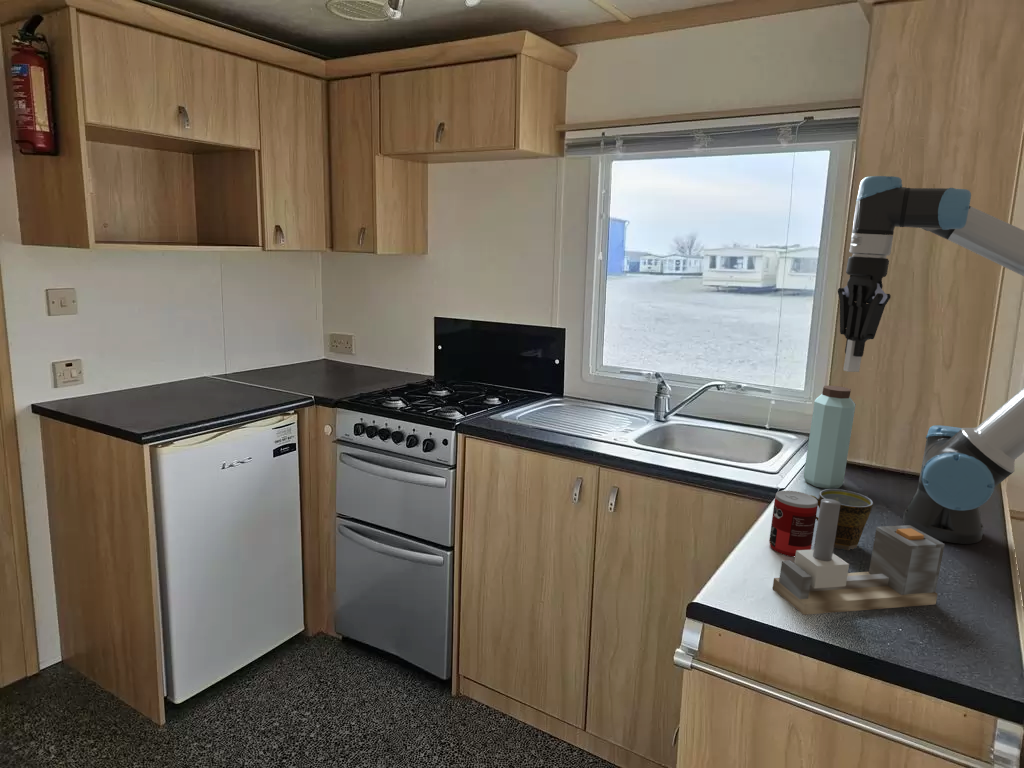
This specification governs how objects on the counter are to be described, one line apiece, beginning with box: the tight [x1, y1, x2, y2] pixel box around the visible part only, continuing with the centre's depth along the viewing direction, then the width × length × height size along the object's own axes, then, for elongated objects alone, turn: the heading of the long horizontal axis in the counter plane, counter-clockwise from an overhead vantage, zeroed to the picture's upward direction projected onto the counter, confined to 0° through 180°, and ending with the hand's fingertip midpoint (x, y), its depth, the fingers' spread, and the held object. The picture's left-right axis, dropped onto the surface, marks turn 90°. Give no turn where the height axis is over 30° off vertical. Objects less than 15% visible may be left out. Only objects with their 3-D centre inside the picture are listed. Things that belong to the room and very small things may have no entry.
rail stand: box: [772, 524, 946, 616], centre depth 125 cm, size 26×9×11 cm, turn 103°
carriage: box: [793, 499, 850, 588], centre depth 122 cm, size 6×6×14 cm
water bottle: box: [803, 385, 856, 490], centre depth 182 cm, size 10×10×25 cm
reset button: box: [896, 528, 924, 540], centre depth 126 cm, size 3×3×3 cm
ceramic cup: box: [809, 488, 874, 551], centre depth 148 cm, size 13×10×10 cm
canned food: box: [768, 490, 819, 557], centre depth 143 cm, size 8×8×11 cm
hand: (851, 370), depth 150 cm, fingers closed
